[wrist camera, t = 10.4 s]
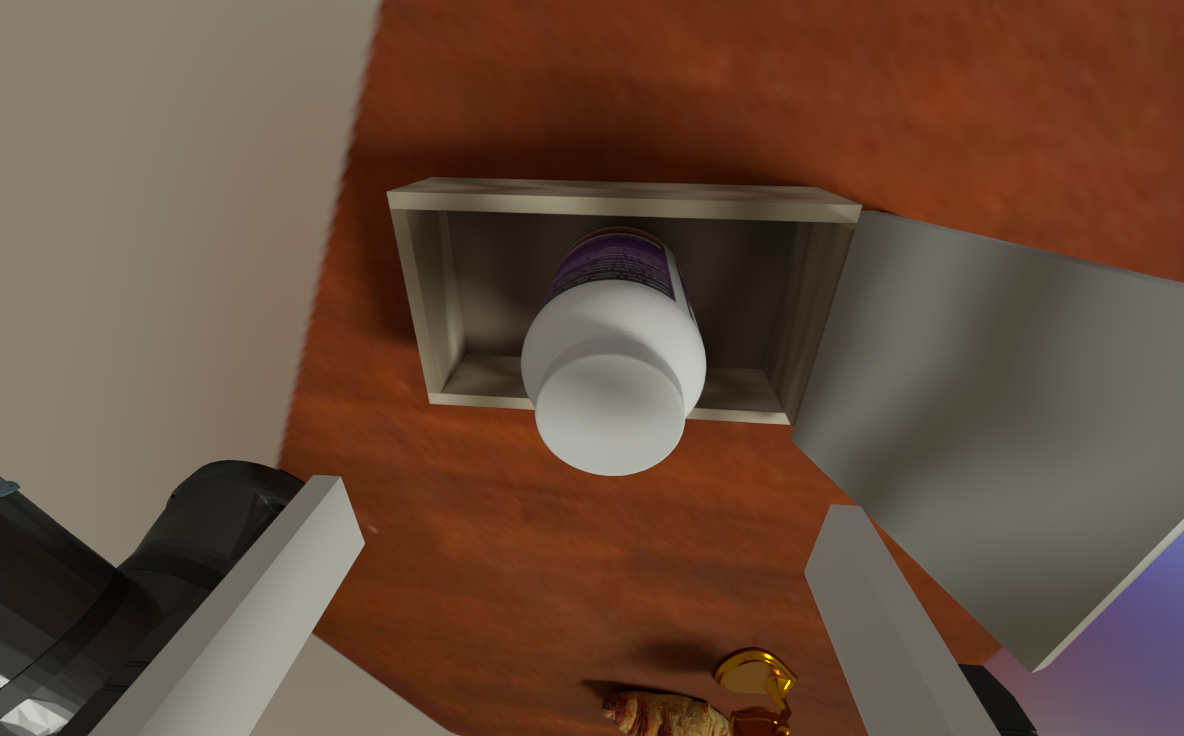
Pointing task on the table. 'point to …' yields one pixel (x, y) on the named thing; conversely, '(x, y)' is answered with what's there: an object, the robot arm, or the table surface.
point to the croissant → (663, 715)
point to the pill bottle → (614, 354)
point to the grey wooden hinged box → (866, 369)
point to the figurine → (757, 691)
